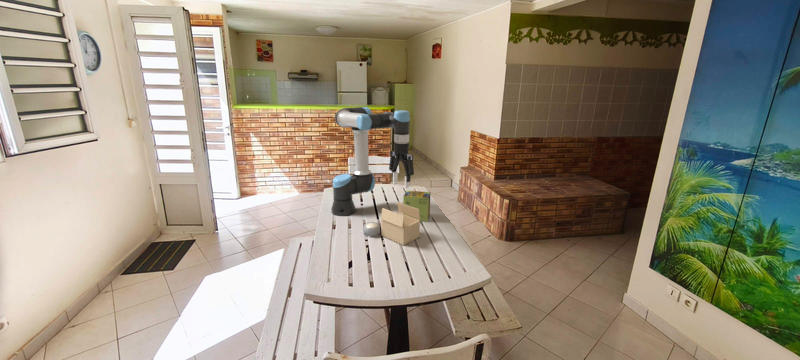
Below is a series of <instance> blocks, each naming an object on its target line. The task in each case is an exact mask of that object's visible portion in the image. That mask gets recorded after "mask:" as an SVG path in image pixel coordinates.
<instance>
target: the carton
mask: <svg viewBox="0 0 800 360" xmlns="http://www.w3.org/2000/svg"><path fill="white" fill-rule="evenodd" d="M396 213H398V214H400V215H403V216H404V221H403V227H400V226H397V225H395V224H392V223H390V222H387V221H385V220H382V219H381V218H380V219H381V220H380V221H381V224H380V235H381V237H383V238H385V239H388V240H390V241H392V242H394V243H396V244H399V245H401V246H406V245H408V244H410V243H411V242H413V241H416V240H417V239H419V238H420V227H421V226H420V225H421V223H420V222H421V221H420V220H417V219H415V218H412V217H409V216H407V215H404V214H403V213H401V212H399V211H398V212H396Z"/></svg>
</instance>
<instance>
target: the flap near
mask: <svg viewBox="0 0 800 360" xmlns="http://www.w3.org/2000/svg"><path fill="white" fill-rule="evenodd" d="M380 219H382V220H385V221H387V222H390V223H392V224H395V225H397V226H400V227H403V221H404V216H403V215H400V214H398V213H397V212H394V211H392V210H389V209H387V208H383V207H382V208H381V216H380Z"/></svg>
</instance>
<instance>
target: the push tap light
mask: <svg viewBox="0 0 800 360" xmlns="http://www.w3.org/2000/svg"><path fill="white" fill-rule="evenodd" d="M379 235H381V224H380V223H379V222H375V221H369V222H366V223H364V224H363V236H365V237H368V236H370V237H368V238H376V237H379ZM375 236H376V237H375Z"/></svg>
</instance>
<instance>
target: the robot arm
mask: <svg viewBox="0 0 800 360" xmlns="http://www.w3.org/2000/svg"><path fill="white" fill-rule="evenodd" d="M410 120H411V118H410V111H408V110H405V109H404V110H403V109H401V110H400V109H399V110H395V111H394V112H388V111H385V112H383V113H382V112H381V113H373V111H372V110H371V109H370V108H369V107H366V106H365V107H364V106H356V107H355V106H354V107H344V108H340V109H338V110H337V112H336V113H335V115H334V122H335V123H336V124H337V126H339V127H341V128H346V129H347V128H350V130H351V131H352V133H353V141H354V142H353V143H354V144H353V145H354V167H355V169H354V171H353V172H352V175H351V174H349V173H343V174H337V175H336V176H335V177H334V178H333V179H332V190H333V191H332V194H333V200H332V201H333V202H332V206H331V209H330V210H331V214H333V215H335V216H339V217H341V216H345V217H346V216H350V215H353V214H355V213H356V206H355V203H354V200H353V195H357V194H358V195H359V194H364V193H369V192H371V191H373V190H374V189H375V186H376V179H375V175H374V174H373V173H372V171H371V170H370V167H369V165H370V164H369V163H370V162H369V161H370V160H369V132H370V130H377V129H378V130H379V129H380V130H381V129H393V142H394V143H393V150H394V151H390V152H389V155H390V159H389V165H388V170H389V171H391V177H392V185H397V184H398V167H399V164H400V162H401V163H402V165H403V168H404V172H405V175H404V188H405V189H408V188H410V182H411V176H413V175H414V174H415V172H414V162H413V161H414V155H413V154H412V155H411V154H409V149H410V123H411V121H410Z"/></svg>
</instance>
